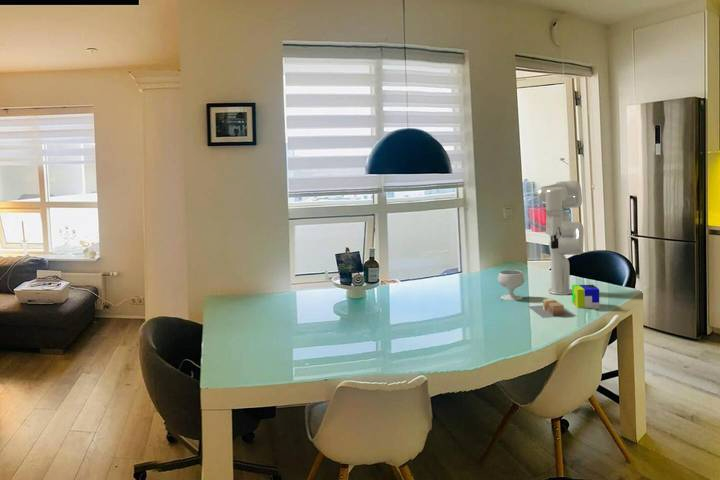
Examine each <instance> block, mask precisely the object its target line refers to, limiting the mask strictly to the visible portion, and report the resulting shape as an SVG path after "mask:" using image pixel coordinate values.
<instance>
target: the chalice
mask: <svg viewBox="0 0 720 480" xmlns="http://www.w3.org/2000/svg"><path fill="white" fill-rule="evenodd" d="M497 281H498V284H499V285H500V286H501V287H503V288H506V289H507V290H508V291H509V294H505V295H501V296H500V298H499V299H501V300H506V301H519V300H523V296H521V295H517V294H514V291H515V289H517V288H519V287H521V286H522V285H524V283H525V275H524V274H523V272H522V271H520V270H515V269H512V270H511V269H509V270H508V269H507V270H502V271H500V272H499V274H498V277H497Z"/></svg>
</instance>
